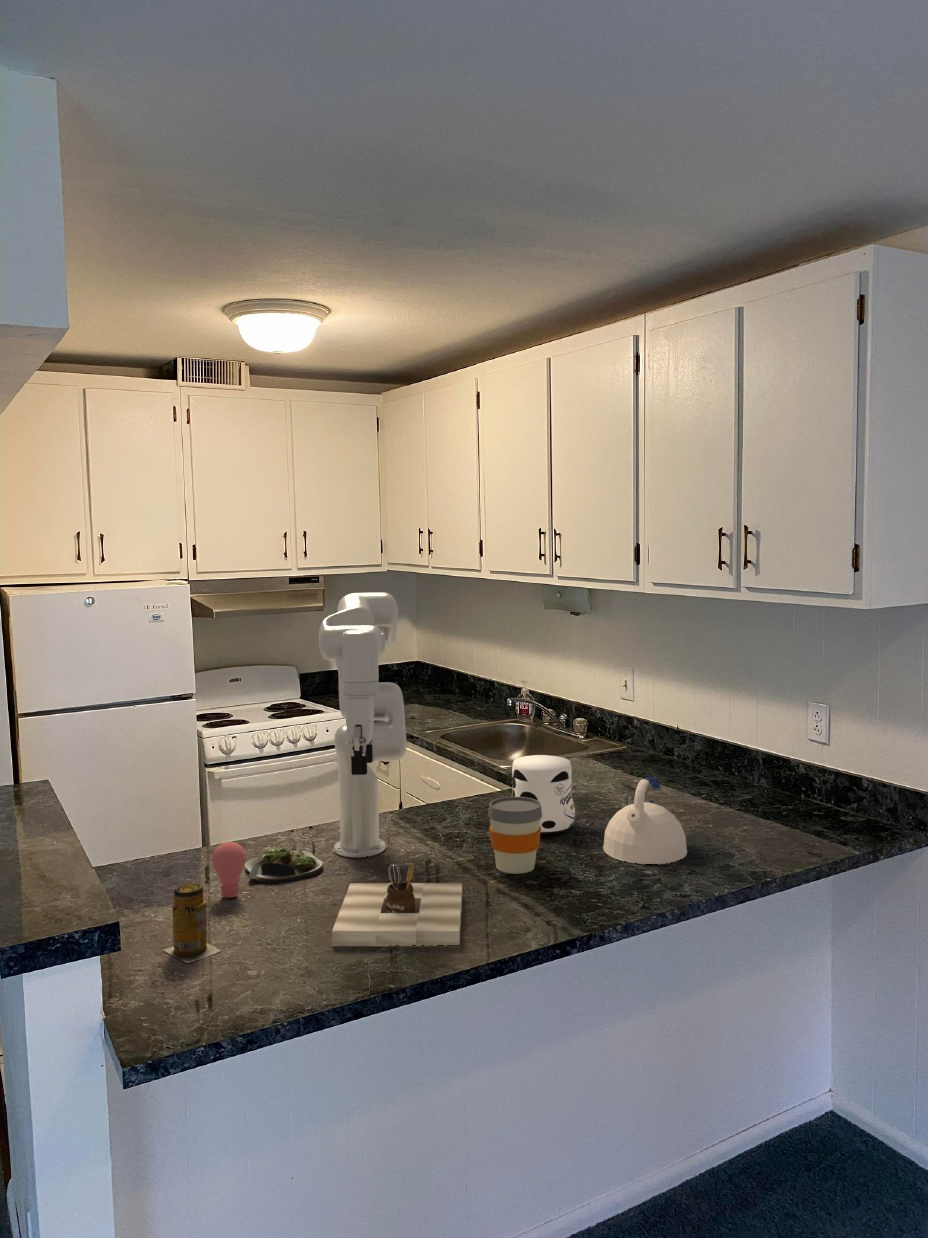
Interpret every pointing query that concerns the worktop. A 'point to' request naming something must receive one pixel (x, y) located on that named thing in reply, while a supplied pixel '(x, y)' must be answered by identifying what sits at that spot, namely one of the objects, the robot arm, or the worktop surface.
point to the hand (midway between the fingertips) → (362, 768)
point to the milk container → (546, 789)
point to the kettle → (645, 832)
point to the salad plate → (283, 866)
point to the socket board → (399, 917)
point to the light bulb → (229, 866)
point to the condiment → (190, 925)
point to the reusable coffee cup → (515, 833)
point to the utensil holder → (401, 895)
